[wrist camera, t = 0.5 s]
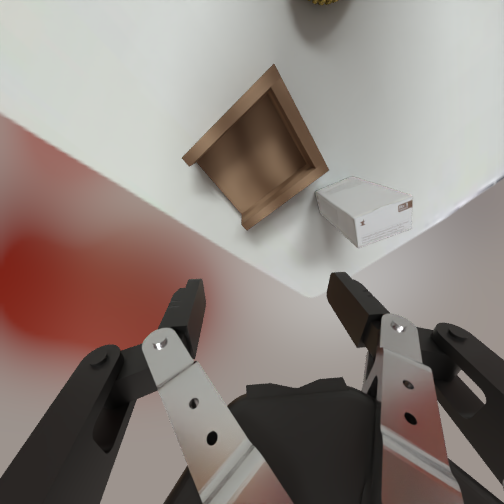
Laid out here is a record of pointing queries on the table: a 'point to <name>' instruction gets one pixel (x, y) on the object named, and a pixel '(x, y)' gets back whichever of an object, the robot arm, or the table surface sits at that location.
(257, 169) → the u rest
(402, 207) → the skincare box
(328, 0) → the sculpture
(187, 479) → the robot arm
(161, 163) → the table surface
